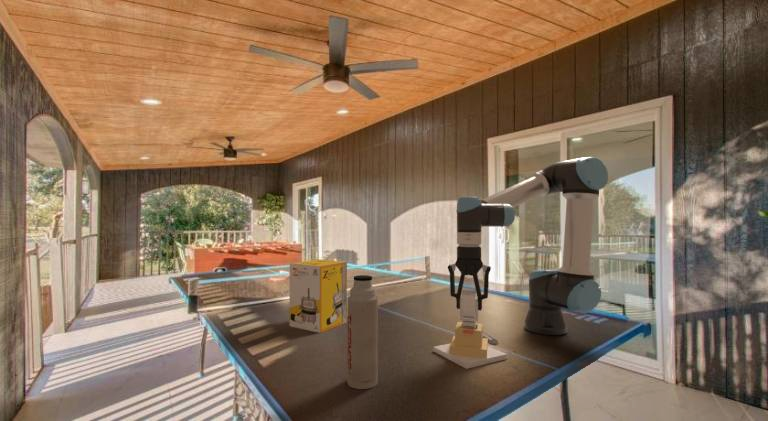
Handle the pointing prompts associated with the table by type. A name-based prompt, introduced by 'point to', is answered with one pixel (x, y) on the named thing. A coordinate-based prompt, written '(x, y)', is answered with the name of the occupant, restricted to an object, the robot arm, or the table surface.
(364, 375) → the thermos bottle
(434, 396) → the table surface
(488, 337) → the adjustable wrench
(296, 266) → the packaging box
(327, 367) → the table surface
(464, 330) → the stand
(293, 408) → the table surface
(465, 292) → the column
